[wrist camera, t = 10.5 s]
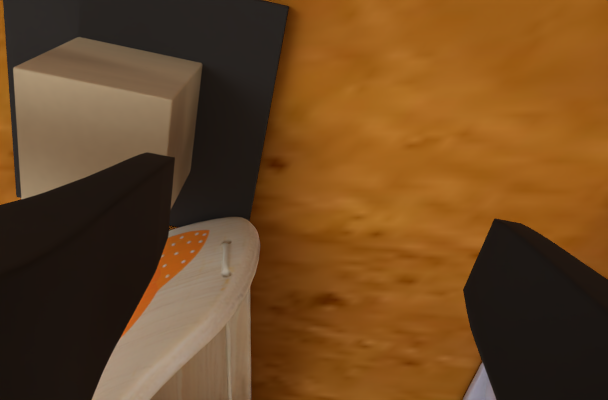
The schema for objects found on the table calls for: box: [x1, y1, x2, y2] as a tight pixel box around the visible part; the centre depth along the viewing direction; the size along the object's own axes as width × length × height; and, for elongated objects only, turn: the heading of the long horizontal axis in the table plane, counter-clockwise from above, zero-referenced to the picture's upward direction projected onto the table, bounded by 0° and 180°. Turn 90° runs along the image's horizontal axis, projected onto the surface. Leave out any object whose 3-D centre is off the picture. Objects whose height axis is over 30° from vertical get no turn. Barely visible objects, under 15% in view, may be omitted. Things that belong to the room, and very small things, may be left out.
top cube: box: [13, 37, 202, 208], centre depth 18 cm, size 5×5×5 cm
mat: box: [3, 0, 289, 227], centre depth 20 cm, size 10×10×1 cm
